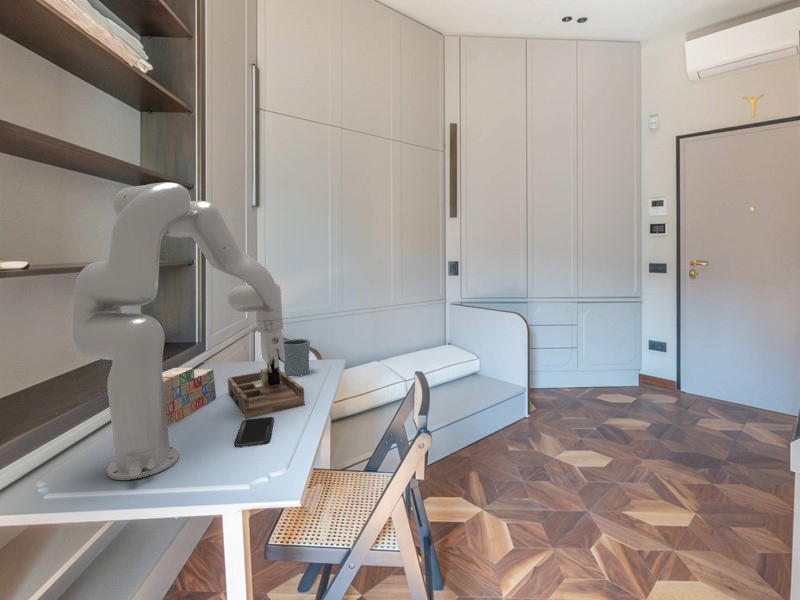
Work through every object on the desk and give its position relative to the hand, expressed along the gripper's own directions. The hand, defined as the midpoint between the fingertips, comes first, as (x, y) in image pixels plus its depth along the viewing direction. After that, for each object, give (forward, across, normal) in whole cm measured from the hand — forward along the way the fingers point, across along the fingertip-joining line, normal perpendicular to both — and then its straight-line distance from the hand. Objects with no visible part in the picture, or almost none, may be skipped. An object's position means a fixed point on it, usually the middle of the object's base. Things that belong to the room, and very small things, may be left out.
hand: (274, 384), depth 127 cm
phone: (+4, -24, +11) cm, 27 cm away
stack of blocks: (+4, +3, +25) cm, 25 cm away
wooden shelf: (+4, 0, +3) cm, 5 cm away
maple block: (+1, +5, 0) cm, 5 cm away
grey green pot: (+4, +21, -14) cm, 25 cm away
